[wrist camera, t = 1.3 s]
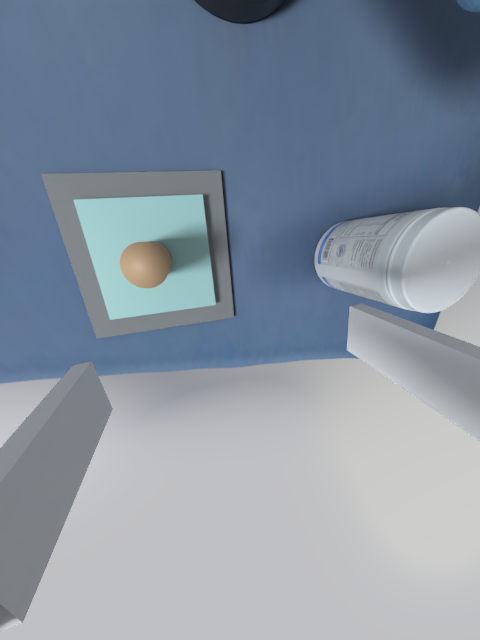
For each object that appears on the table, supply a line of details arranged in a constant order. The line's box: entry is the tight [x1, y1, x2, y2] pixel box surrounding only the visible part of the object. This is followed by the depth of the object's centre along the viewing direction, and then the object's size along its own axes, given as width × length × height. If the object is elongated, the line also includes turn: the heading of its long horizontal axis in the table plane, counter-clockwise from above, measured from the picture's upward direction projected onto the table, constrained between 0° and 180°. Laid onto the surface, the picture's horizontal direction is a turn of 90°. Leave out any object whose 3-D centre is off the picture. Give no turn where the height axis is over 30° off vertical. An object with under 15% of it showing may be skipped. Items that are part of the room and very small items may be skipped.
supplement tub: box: [314, 207, 480, 313], centre depth 26 cm, size 10×10×15 cm
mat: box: [41, 170, 234, 339], centre depth 27 cm, size 18×18×1 cm
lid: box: [74, 194, 216, 320], centre depth 23 cm, size 13×13×8 cm
